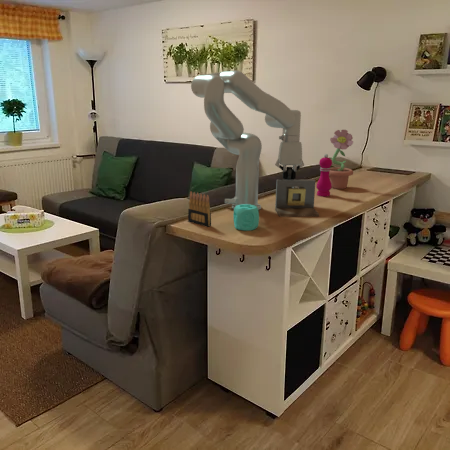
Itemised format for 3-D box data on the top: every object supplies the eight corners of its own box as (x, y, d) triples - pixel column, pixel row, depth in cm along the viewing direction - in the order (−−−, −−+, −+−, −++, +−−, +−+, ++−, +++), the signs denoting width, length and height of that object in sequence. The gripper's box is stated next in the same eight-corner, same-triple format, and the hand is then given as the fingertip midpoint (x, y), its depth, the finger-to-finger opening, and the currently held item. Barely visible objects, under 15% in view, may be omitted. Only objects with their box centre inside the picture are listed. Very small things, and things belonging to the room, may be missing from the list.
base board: (279, 216, 183) (279, 213, 182) (275, 209, 193) (275, 207, 193) (318, 216, 184) (318, 213, 183) (312, 209, 194) (312, 206, 194)
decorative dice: (254, 224, 172) (254, 203, 170) (258, 230, 164) (259, 209, 162) (233, 225, 171) (233, 204, 169) (237, 231, 163) (237, 209, 161)
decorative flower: (322, 189, 235) (326, 130, 226) (323, 184, 247) (327, 128, 239) (352, 191, 231) (357, 131, 223) (351, 185, 244) (356, 129, 236)
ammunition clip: (211, 226, 169) (211, 194, 166) (207, 227, 168) (207, 195, 165) (191, 220, 176) (191, 190, 173) (188, 221, 175) (187, 191, 172)
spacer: (287, 205, 189) (288, 189, 186) (287, 204, 190) (288, 188, 188) (304, 205, 189) (305, 189, 187) (303, 204, 191) (305, 188, 188)
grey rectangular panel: (276, 208, 191) (277, 180, 188) (275, 207, 193) (276, 179, 190) (313, 208, 192) (315, 180, 189) (312, 206, 194) (314, 179, 190)
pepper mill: (320, 197, 217) (322, 155, 212) (313, 194, 224) (315, 153, 218) (333, 196, 219) (336, 154, 213) (326, 193, 226) (329, 152, 220)
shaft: (292, 192, 190) (293, 173, 187) (285, 184, 206) (285, 166, 204) (299, 192, 190) (300, 173, 187) (291, 184, 206) (292, 166, 204)
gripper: (273, 139, 195) (272, 181, 201) (311, 139, 196) (308, 181, 201) (271, 138, 203) (269, 178, 208) (307, 138, 203) (305, 178, 208)
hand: (288, 179), depth 204 cm, fingers closed on shaft, 2 cm apart
